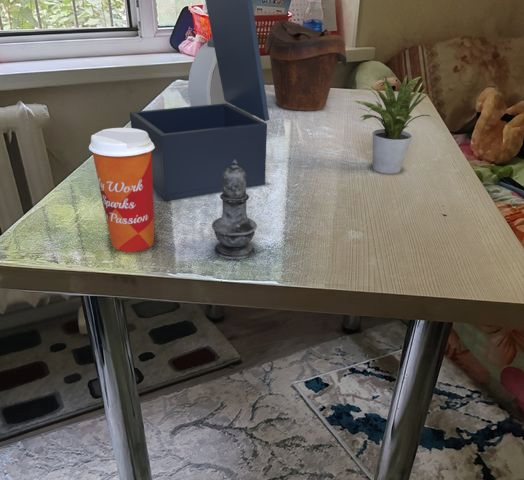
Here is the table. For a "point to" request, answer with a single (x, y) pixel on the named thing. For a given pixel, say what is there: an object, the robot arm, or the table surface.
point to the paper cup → (126, 185)
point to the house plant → (392, 125)
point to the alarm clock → (206, 78)
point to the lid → (238, 54)
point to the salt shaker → (234, 217)
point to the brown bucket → (303, 64)
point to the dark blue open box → (202, 147)
